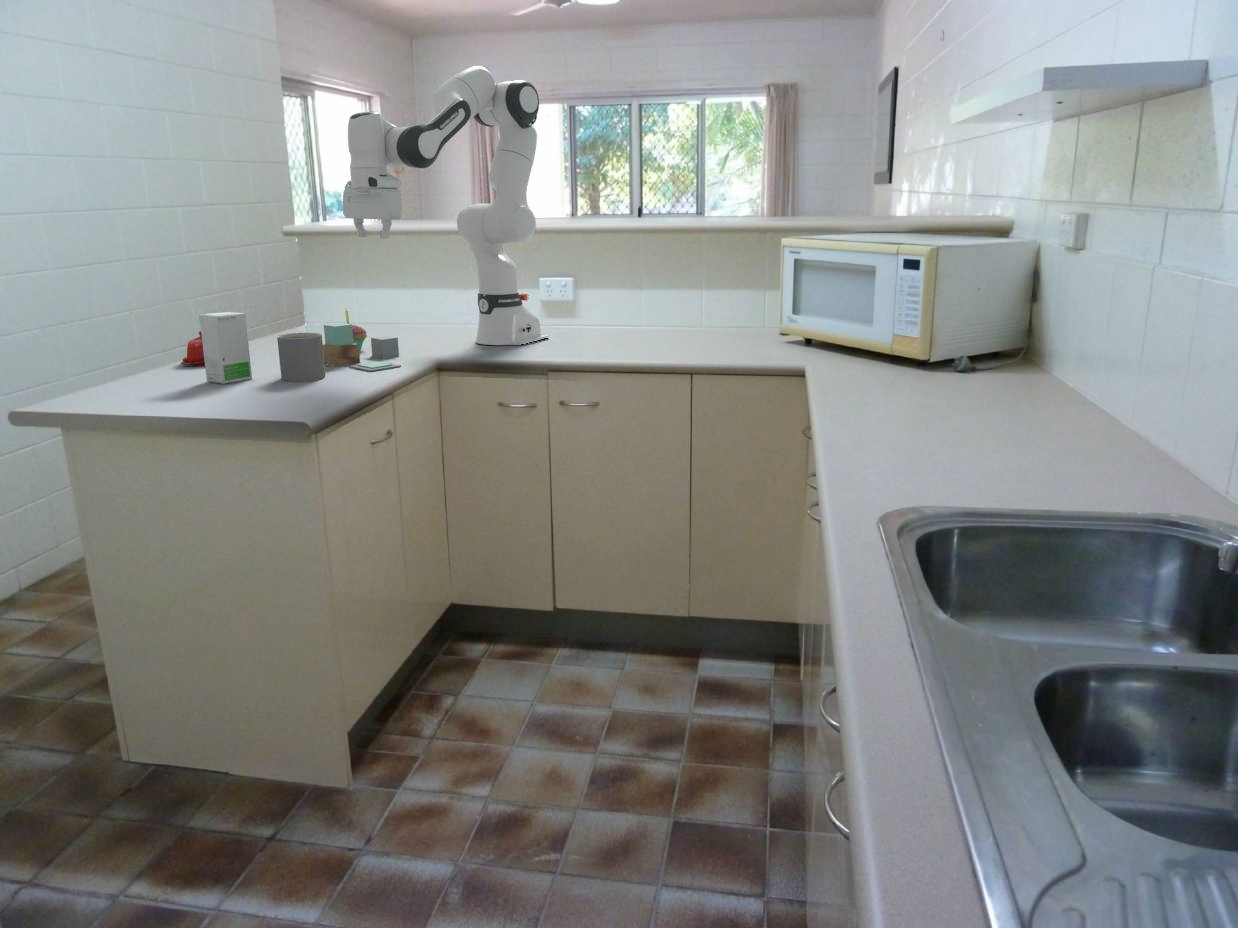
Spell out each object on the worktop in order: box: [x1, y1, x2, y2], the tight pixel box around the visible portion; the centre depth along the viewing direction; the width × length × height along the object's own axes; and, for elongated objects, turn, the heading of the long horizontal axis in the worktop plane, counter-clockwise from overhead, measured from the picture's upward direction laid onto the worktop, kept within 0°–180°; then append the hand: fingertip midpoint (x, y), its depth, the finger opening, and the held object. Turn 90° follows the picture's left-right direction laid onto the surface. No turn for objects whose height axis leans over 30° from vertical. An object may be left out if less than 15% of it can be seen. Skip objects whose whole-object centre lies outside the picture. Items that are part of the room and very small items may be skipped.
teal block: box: [323, 322, 354, 346], centre depth 238 cm, size 5×5×5 cm
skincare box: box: [198, 311, 253, 385], centre depth 216 cm, size 8×7×16 cm
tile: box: [348, 360, 402, 373], centre depth 234 cm, size 9×9×1 cm
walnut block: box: [323, 343, 361, 367], centre depth 240 cm, size 7×7×5 cm
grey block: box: [370, 335, 400, 359], centre depth 250 cm, size 5×5×5 cm
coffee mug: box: [277, 332, 326, 383], centre depth 222 cm, size 13×10×10 cm
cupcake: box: [344, 308, 367, 352], centre depth 257 cm, size 9×8×12 cm
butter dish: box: [182, 330, 205, 367], centre depth 240 cm, size 12×12×8 cm
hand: (373, 237), depth 236 cm, fingers open, 8 cm apart
